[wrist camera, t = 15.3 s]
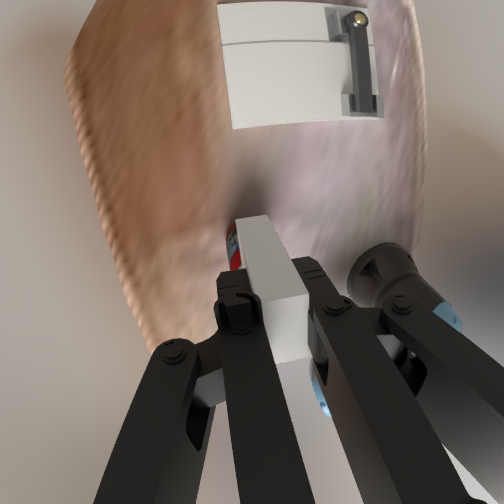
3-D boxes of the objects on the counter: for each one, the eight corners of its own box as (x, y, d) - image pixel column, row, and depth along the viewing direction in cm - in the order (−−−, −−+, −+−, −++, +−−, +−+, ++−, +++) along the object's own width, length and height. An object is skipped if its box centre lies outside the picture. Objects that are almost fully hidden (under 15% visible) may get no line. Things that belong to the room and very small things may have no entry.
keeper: (369, 115, 42) (386, 117, 38) (342, 115, 42) (357, 117, 38) (368, 94, 41) (385, 95, 36) (340, 94, 40) (355, 93, 36)
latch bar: (343, 12, 31) (350, 8, 29) (361, 14, 32) (368, 11, 30) (351, 111, 39) (359, 112, 37) (369, 112, 39) (377, 113, 37)
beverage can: (230, 215, 48) (238, 248, 38) (270, 223, 50) (289, 257, 39) (221, 252, 51) (226, 293, 40) (259, 259, 53) (273, 299, 42)
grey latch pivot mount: (363, 44, 37) (372, 41, 34) (328, 41, 36) (336, 38, 34) (358, 12, 34) (367, 8, 31) (323, 8, 34) (331, 3, 31)
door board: (376, 119, 44) (380, 120, 43) (232, 128, 42) (232, 129, 41) (365, 10, 35) (368, 8, 34) (216, 6, 33) (217, 4, 32)
